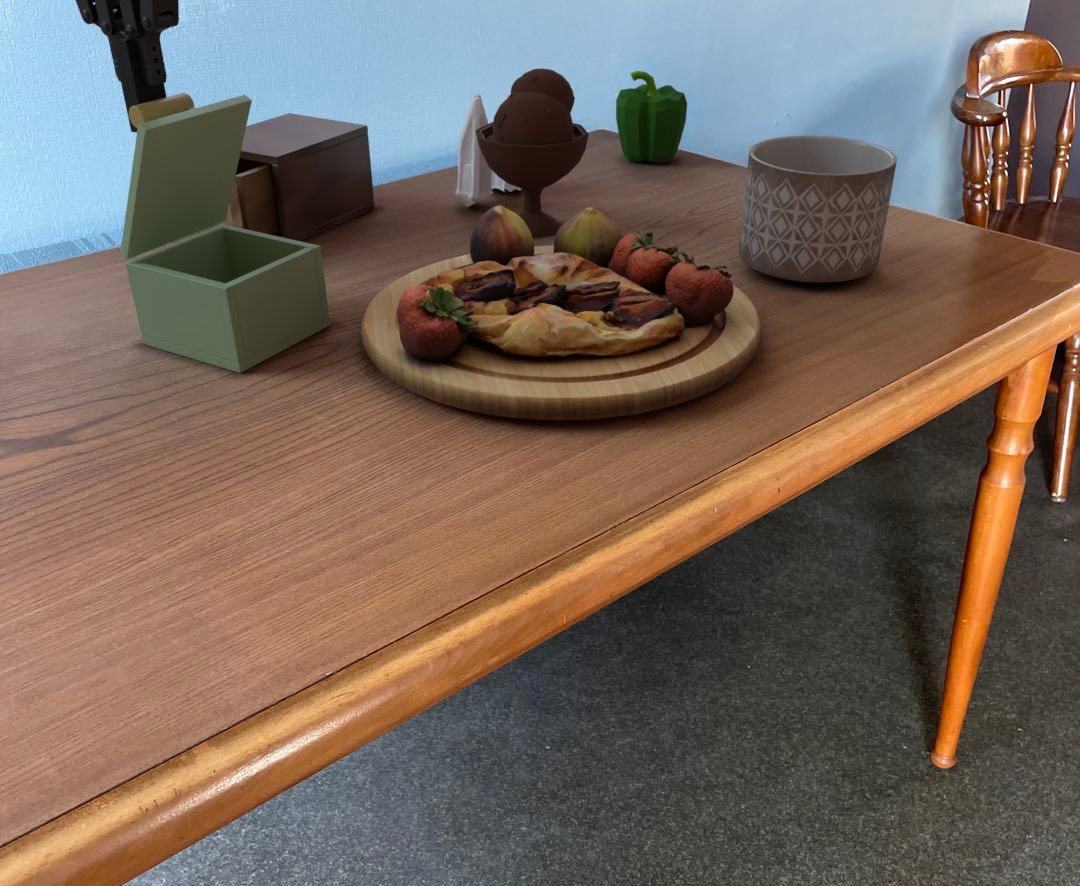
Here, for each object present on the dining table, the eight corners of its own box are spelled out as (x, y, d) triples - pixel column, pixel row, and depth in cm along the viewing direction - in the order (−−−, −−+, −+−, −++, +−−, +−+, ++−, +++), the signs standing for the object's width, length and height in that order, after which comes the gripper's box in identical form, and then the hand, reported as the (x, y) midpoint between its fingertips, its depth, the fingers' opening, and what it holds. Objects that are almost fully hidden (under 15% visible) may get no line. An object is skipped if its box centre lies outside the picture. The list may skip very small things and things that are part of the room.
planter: (905, 279, 99) (928, 162, 93) (792, 303, 94) (808, 182, 88) (818, 237, 108) (833, 129, 102) (711, 257, 104) (721, 145, 98)
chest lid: (252, 100, 83) (210, 67, 84) (145, 130, 76) (100, 94, 76) (226, 221, 91) (187, 190, 92) (127, 259, 84) (86, 226, 84)
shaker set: (478, 217, 114) (474, 106, 108) (444, 211, 116) (438, 101, 109) (533, 186, 123) (532, 82, 116) (501, 181, 124) (498, 78, 118)
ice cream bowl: (487, 209, 116) (483, 58, 108) (591, 213, 115) (595, 60, 106) (468, 242, 107) (462, 81, 99) (581, 247, 106) (584, 84, 98)
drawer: (205, 269, 99) (191, 194, 95) (133, 251, 103) (117, 178, 99) (325, 218, 111) (317, 150, 107) (256, 204, 115) (246, 137, 111)
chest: (330, 325, 91) (320, 245, 87) (240, 373, 83) (225, 288, 79) (236, 300, 95) (223, 223, 91) (143, 344, 88) (124, 262, 84)
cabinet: (289, 246, 107) (276, 156, 102) (210, 228, 111) (194, 141, 106) (375, 208, 116) (367, 125, 111) (299, 193, 121) (289, 112, 116)
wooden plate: (448, 470, 71) (441, 354, 67) (315, 301, 95) (303, 207, 90) (842, 376, 82) (860, 271, 78) (635, 246, 106) (639, 160, 102)
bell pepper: (687, 151, 134) (694, 65, 129) (679, 170, 128) (685, 79, 122) (620, 147, 136) (623, 61, 130) (608, 165, 130) (611, 76, 124)
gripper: (192, -256, 69) (250, 128, 83) (55, -251, 75) (130, 109, 88) (98, -260, 64) (176, 151, 77) (-42, -254, 70) (53, 129, 83)
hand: (151, 128), depth 83 cm, fingers closed
